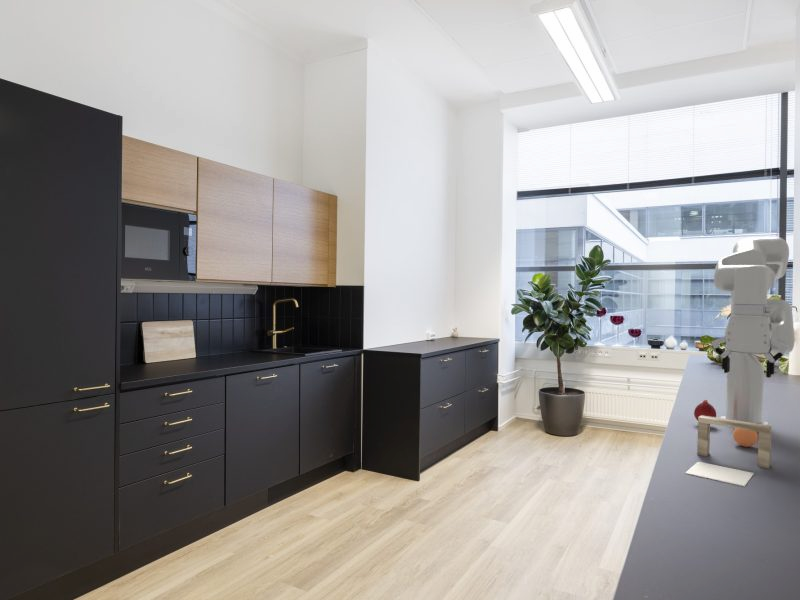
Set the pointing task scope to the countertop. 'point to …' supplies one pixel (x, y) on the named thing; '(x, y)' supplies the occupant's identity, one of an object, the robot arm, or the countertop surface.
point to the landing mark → (720, 473)
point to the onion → (704, 410)
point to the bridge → (763, 430)
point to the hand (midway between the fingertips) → (747, 374)
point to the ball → (745, 437)
